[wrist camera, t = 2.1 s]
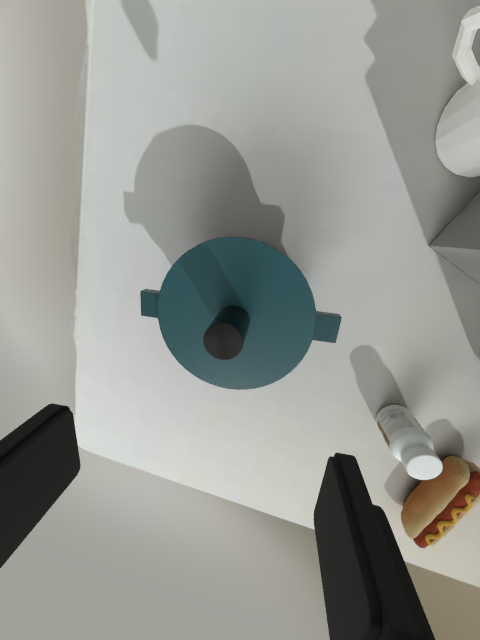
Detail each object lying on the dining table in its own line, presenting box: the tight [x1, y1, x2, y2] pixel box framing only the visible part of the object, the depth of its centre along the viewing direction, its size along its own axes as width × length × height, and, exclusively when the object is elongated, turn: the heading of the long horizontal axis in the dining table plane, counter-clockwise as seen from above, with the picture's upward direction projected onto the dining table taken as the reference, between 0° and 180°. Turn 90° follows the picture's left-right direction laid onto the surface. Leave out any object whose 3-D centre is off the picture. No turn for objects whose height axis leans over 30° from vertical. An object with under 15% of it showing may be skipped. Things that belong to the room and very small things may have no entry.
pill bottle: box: [376, 405, 443, 480], centre depth 30 cm, size 4×4×8 cm
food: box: [401, 456, 480, 548], centre depth 34 cm, size 14×6×5 cm, turn 162°
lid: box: [158, 237, 316, 389], centre depth 20 cm, size 14×14×6 cm
